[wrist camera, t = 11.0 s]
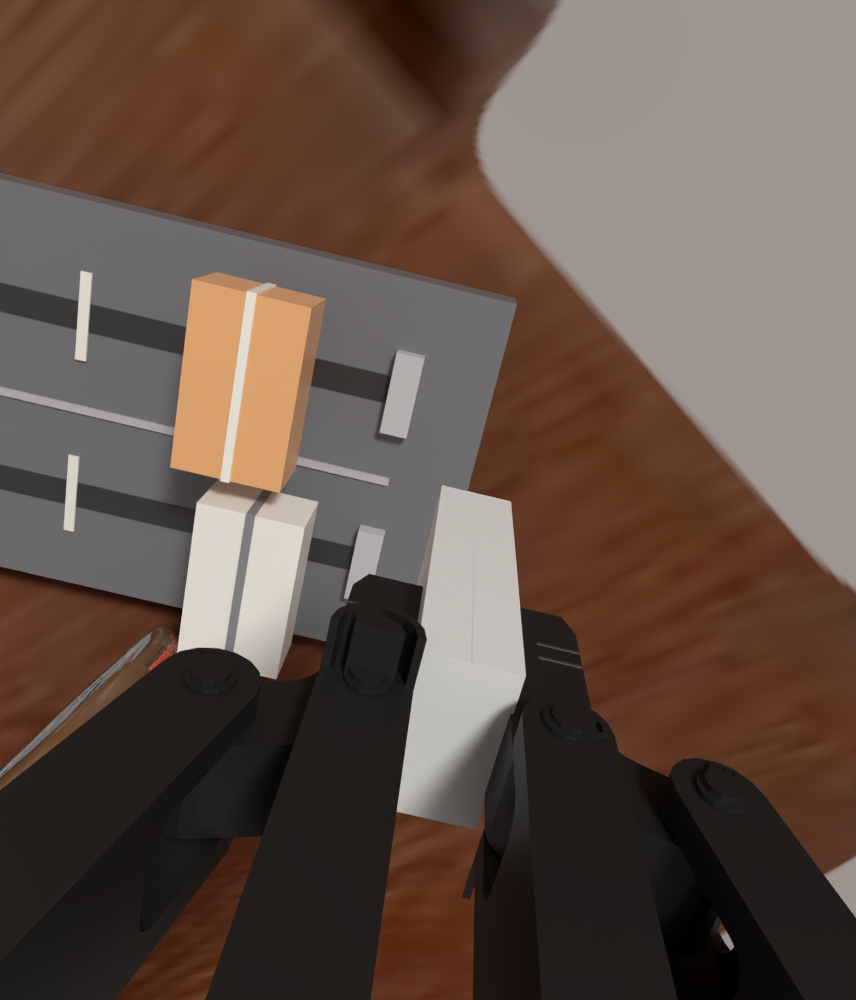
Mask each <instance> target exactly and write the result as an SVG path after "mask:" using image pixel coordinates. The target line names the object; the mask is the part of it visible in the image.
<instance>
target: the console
mask: <svg viewBox="0 0 856 1000" xmlns="http://www.w3.org/2000/svg"><path fill="white" fill-rule="evenodd" d="M216 272H218V273H222V274H226V275H230V276H235V277H239V278H243V279H247V280H251V281H255V282H259V283H263V284H266V283H271V284H275V285H277V287H280V288H284V289H288V290H292V291H297V292H301V293H305V294H309V295H313V296H317V297H321V298H326V302H325V308H324V313H323V319H322V325H321V330H320V336H319V342H318V347H317V353H316V358H315V364H314V370H313V375H312V381H311V387H310V392H309V398H308V403H307V409H306V415H305V420H304V426H303V432H302V437H301V443H300V448H299V454H298V460H297V465H296V470H295V471H294V473H293V474H292V476H291V477H290V479H289V480H288V482H287V483H286V485H285V486H284V488H283V489H282V491H281V492H280V493H283V494H287V495H292V496H296V497H300V498H304V499H309V500H313V501H317V502H318V507H317V512H316V517H315V522H314V527H313V533H312V538H311V543H310V548H309V553H308V559H307V564H306V569H305V574H304V580H303V585H302V590H301V595H300V600H299V606H298V611H297V616H296V621H295V626H294V632H293V634H296V635H300V636H304V637H309V638H313V639H318V640H322V641H326V638H327V633H328V628H329V623H330V618H331V616H332V615H333V614H334V613H335V611H336V610H337V609H338V608H341V607H343V606H346V604H347V601H348V598H349V595H350V592H351V589H352V586H353V584H354V583H356V582H357V581H359V580H360V579H362V578H363V577H365V576H366V575H368V574H372V575H377V576H381V577H385V578H389V579H393V580H398V581H402V582H406V583H410V584H415V585H417V582H418V578H419V574H420V570H421V566H422V562H423V558H424V554H425V550H426V546H427V542H428V539H429V535H430V531H431V527H432V523H433V519H434V515H435V511H436V507H437V503H438V499H439V495H440V491H441V487H442V485H444V486H448V487H452V488H456V489H460V490H465V491H468V487H469V483H470V480H471V476H472V472H473V468H474V465H475V461H476V457H477V453H478V449H479V446H480V442H481V438H482V434H483V431H484V427H485V423H486V419H487V415H488V412H489V408H490V404H491V400H492V396H493V393H494V389H495V385H496V381H497V378H498V374H499V370H500V366H501V362H502V359H503V355H504V351H505V347H506V344H507V340H508V336H509V332H510V328H511V325H512V321H513V317H514V313H515V310H516V306H517V303H516V301H515V298H513V297H509V296H505V295H501V294H497V293H493V292H489V291H485V290H480V289H476V288H472V287H468V286H464V285H460V284H456V283H452V282H448V281H443V280H439V279H435V278H431V277H427V276H423V275H419V274H415V273H411V272H406V271H402V270H398V269H394V268H390V267H386V266H382V265H378V264H374V263H369V262H365V261H361V260H357V259H353V258H349V257H345V256H341V255H336V254H332V253H328V252H324V251H320V250H316V249H312V248H308V247H304V246H299V245H295V244H291V243H287V242H283V241H279V240H275V239H271V238H267V237H262V236H258V235H254V234H250V233H246V232H242V231H238V230H234V229H230V228H225V227H221V226H217V225H213V224H209V223H205V222H201V221H197V220H193V219H188V218H184V217H180V216H176V215H172V214H168V213H164V212H160V211H155V210H151V209H147V208H143V207H139V206H135V205H131V204H127V203H123V202H118V201H114V200H110V199H106V198H102V197H98V196H94V195H90V194H86V193H81V192H77V191H73V190H69V189H65V188H61V187H57V186H53V185H49V184H44V183H40V182H36V181H32V180H28V179H24V178H20V177H16V176H12V175H7V174H3V173H0V567H4V568H9V569H13V570H17V571H22V572H26V573H30V574H35V575H39V576H43V577H48V578H52V579H56V580H61V581H65V582H70V583H74V584H78V585H83V586H87V587H91V588H96V589H100V590H104V591H109V592H113V593H117V594H122V595H126V596H130V597H135V598H139V599H143V600H148V601H152V602H157V603H161V604H165V605H170V606H174V607H178V608H183V603H184V596H185V588H186V580H187V573H188V565H189V558H190V550H191V542H192V535H193V527H194V520H195V512H196V504H197V502H198V501H199V500H200V499H201V497H202V496H203V495H204V494H205V493H206V492H207V491H208V490H209V489H210V488H211V487H212V486H213V485H214V483H215V482H216V481H217V480H218V478H213V477H209V476H205V475H201V474H196V473H192V472H188V471H184V470H179V469H175V468H171V467H170V464H171V456H172V447H173V439H174V430H175V421H176V413H177V404H178V396H179V387H180V378H181V370H182V361H183V353H184V344H185V335H186V327H187V318H188V310H189V301H190V292H191V284H192V279H195V278H198V277H202V276H205V275H209V274H213V273H216Z"/></svg>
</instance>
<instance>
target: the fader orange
mask: <svg viewBox="0 0 856 1000" xmlns="http://www.w3.org/2000/svg"><path fill="white" fill-rule="evenodd" d="M325 302H326V298H321V297H317V296H313V295H309V294H305V293H301V292H297V291H292V290H288V289H284V288H280V287H277V285H275V284H271V283H266V284H263V283H259V282H255V281H251V280H247V279H243V278H239V277H235V276H230V275H226V274H222V273H218V272H216V273H213V274H209V275H205V276H202V277H198V278H195V279H192V284H191V292H190V301H189V310H188V318H187V327H186V335H185V344H184V353H183V361H182V370H181V378H180V387H179V396H178V404H177V413H176V421H175V430H174V439H173V447H172V456H171V464H170V467H171V468H175V469H179V470H184V471H188V472H192V473H196V474H201V475H205V476H209V477H213V478H218V479H220V481H222V482H226V483H230V482H235V483H239V484H243V485H248V486H252V487H256V488H260V489H265V490H269V491H273V492H277V493H280V492H281V491H282V489H283V488H284V486H285V485H286V483H287V482H288V480H289V479H290V477H291V476H292V474H293V473H294V471H295V470H296V465H297V460H298V454H299V448H300V443H301V437H302V432H303V426H304V420H305V415H306V409H307V403H308V398H309V392H310V387H311V381H312V375H313V370H314V364H315V358H316V353H317V347H318V342H319V336H320V330H321V325H322V319H323V313H324V308H325Z"/></svg>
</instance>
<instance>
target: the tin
mask: <svg viewBox="0 0 856 1000" xmlns="http://www.w3.org/2000/svg"><path fill="white" fill-rule="evenodd" d="M178 641H179V636H178V635H177V634H176V633H174V632H173V631H172V630H171V629H169V628H168V627H166V626H163V625H159V626H156V627H155V628H153V629H152V630H151V631H149V632H148V633H147V634H146V635H145V636H144V637H142V638H141V639H140V640H139V641H138V642H137V643H136V644H134V645H133V646H132V647H131V648H130V649H129V650H128V651H127V652H125V653H124V654H123V655H122V656H121V657H120V658H119V659H118V660H117V661H115V662H114V663H113V664H112V665H111V666H110V667H109V668H107V669H106V670H105V671H104V672H103V673H102V674H101V675H100V676H98V677H97V678H96V679H95V680H94V681H93V682H92V683H90V684H89V685H88V686H87V687H86V688H85V689H84V690H83V691H82V692H80V693H79V694H78V695H77V696H76V697H75V698H74V699H73V700H72V701H71V702H70V703H68V704H67V705H66V706H65V707H64V708H63V709H62V710H61V711H60V712H59V713H58V714H57V715H56V716H55V717H54V718H53V719H51V720H50V721H49V722H48V723H47V724H46V725H45V726H44V727H43V728H42V729H41V730H40V731H39V732H38V733H37V734H36V735H35V736H34V737H33V738H32V739H31V740H30V741H28V742H27V743H26V744H25V745H24V746H23V747H22V748H21V749H20V750H19V751H18V752H17V753H16V754H15V755H14V756H13V757H12V758H11V759H10V760H9V761H8V762H7V763H6V764H5V765H4V766H2V767H1V768H0V790H1V789H2V788H3V787H4V786H6V785H7V784H8V783H10V782H11V781H12V780H13V779H15V778H16V777H17V776H18V775H20V774H21V773H22V772H23V771H25V770H26V769H27V768H28V767H30V766H31V765H32V764H33V763H35V762H36V761H37V760H39V759H40V758H41V757H42V756H44V755H45V754H46V753H47V752H49V751H50V750H51V749H52V748H54V747H55V746H56V745H57V744H59V743H60V742H61V741H62V740H64V739H65V738H66V737H68V736H69V735H70V734H71V733H73V732H74V731H75V730H76V729H78V728H79V727H80V726H81V725H83V724H84V723H85V722H86V721H88V720H89V719H90V718H91V717H93V716H94V715H95V714H97V713H98V712H99V711H100V710H102V709H103V708H104V707H105V706H107V705H108V704H109V703H110V702H112V701H113V700H114V699H115V698H117V697H118V696H119V695H120V694H122V693H123V692H124V691H126V690H127V689H128V688H129V687H131V686H132V685H133V684H134V683H136V682H137V681H138V680H139V679H141V678H142V677H143V676H144V675H146V674H147V673H148V672H149V671H151V670H152V669H153V668H155V667H156V666H157V665H158V664H160V663H161V662H162V661H163V660H165V659H166V658H168V657H170V656H172V655H174V654H176V653H177V649H178Z"/></svg>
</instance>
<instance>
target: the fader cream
mask: <svg viewBox="0 0 856 1000" xmlns="http://www.w3.org/2000/svg"><path fill="white" fill-rule="evenodd" d="M317 507H318V502H317V501H313V500H309V499H304V498H300V497H296V496H292V495H287V494H283V493H277V492H273V491H269V490H265V489H260V488H256V487H252V486H248V485H243V484H239V483H235V482H230V483H226V482H222V481H220V479H218V480H217V481H216V482H215V483H214V485H213V486H212V487H211V488H210V489H209V490H208V491H207V492H206V493H205V494H204V495H203V496H202V497H201V499H200V500H199V501H198V502H197V504H196V512H195V520H194V527H193V535H192V542H191V550H190V558H189V565H188V573H187V580H186V588H185V596H184V603H183V611H182V618H181V626H180V634H179V641H178V649H177V653H178V652H179V651H183V650H188V649H193V648H219V649H223V650H227V651H231V652H235V653H237V654H239V655H241V656H243V657H244V658H246V659H248V660H250V661H251V662H252V663H253V664H254V666H255V667H256V668H257V669H258V670H259V672H260V676H263V677H268V678H272V679H277V677H278V674H279V672H280V669H281V667H282V665H283V662H284V660H285V657H286V655H287V653H288V650H289V648H290V646H291V642H292V637H293V632H294V626H295V621H296V616H297V611H298V606H299V600H300V595H301V590H302V585H303V580H304V574H305V569H306V564H307V559H308V553H309V548H310V543H311V538H312V533H313V527H314V522H315V517H316V512H317Z"/></svg>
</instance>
